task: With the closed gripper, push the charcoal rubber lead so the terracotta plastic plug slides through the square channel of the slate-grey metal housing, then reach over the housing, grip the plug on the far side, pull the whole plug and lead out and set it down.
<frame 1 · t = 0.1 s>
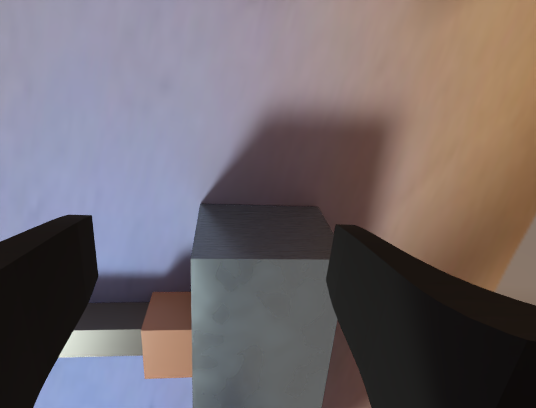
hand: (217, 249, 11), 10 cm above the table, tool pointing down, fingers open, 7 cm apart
housing: (252, 313, 25), on the table
plug: (192, 313, 24), on the table
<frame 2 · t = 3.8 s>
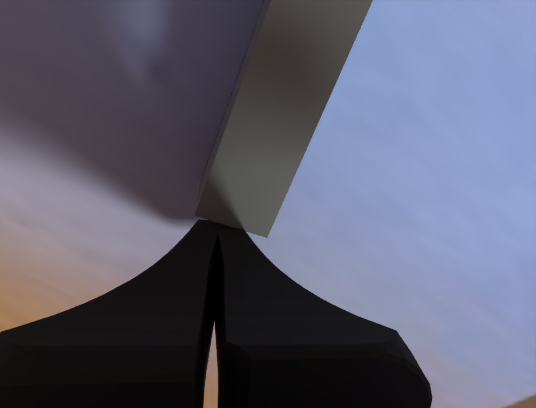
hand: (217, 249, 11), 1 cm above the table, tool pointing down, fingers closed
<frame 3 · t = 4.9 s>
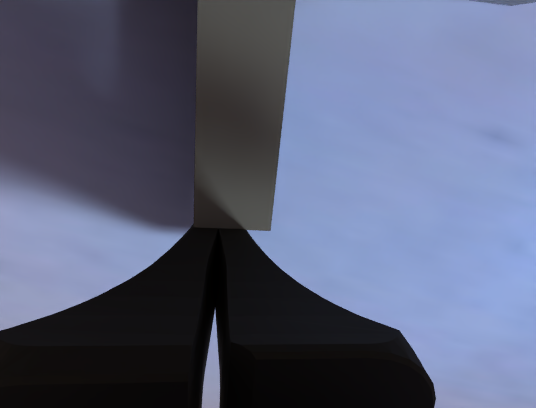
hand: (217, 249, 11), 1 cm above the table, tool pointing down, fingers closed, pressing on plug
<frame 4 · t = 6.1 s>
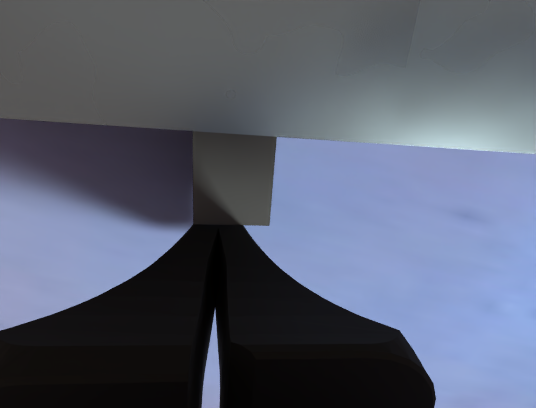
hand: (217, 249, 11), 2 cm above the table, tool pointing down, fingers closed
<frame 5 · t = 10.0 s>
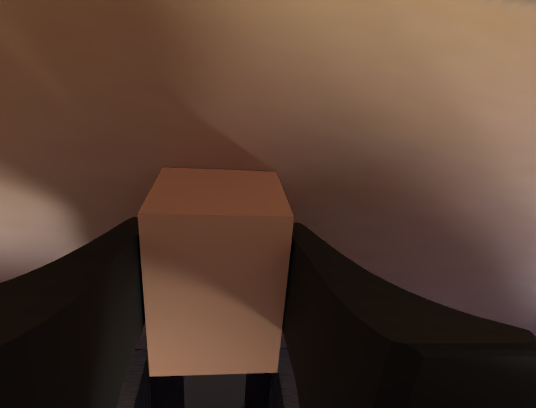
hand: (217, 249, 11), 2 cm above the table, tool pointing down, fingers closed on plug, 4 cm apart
plug: (219, 238, 13), on the table, touching gripper
when the fingers open (2 cm above the table, at t = 13.6 s): plug stays where it is, on the table.
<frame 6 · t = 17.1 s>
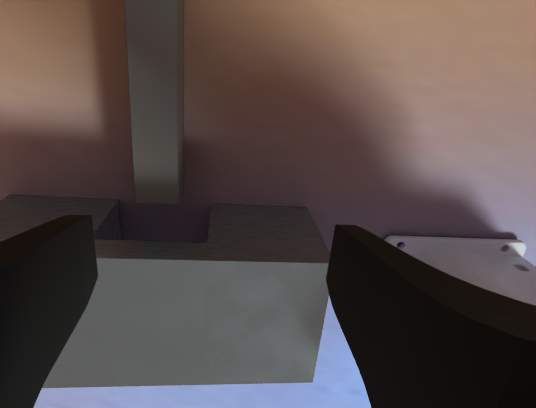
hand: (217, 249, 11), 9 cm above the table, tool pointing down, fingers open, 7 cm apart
housing: (166, 256, 21), on the table
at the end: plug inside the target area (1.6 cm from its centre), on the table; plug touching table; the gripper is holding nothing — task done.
